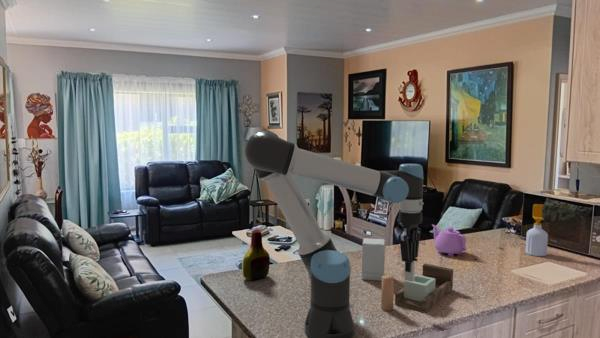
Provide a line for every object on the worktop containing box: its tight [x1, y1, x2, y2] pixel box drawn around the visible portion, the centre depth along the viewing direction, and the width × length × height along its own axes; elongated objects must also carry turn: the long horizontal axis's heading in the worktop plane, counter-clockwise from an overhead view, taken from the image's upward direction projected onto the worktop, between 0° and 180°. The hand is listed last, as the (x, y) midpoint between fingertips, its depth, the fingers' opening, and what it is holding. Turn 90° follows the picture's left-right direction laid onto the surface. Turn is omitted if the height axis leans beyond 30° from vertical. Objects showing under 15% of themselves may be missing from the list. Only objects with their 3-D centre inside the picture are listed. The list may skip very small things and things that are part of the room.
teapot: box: [431, 224, 467, 258], centre depth 218 cm, size 20×14×12 cm
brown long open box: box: [394, 263, 454, 313], centre depth 163 cm, size 26×11×8 cm, turn 142°
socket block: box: [403, 273, 436, 302], centre depth 159 cm, size 9×8×6 cm
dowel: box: [380, 274, 395, 312], centre depth 153 cm, size 4×4×11 cm
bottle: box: [241, 228, 271, 281], centre depth 181 cm, size 12×6×20 cm, turn 120°
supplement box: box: [361, 237, 386, 282], centre depth 184 cm, size 9×9×15 cm
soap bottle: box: [525, 203, 549, 257], centre depth 217 cm, size 9×9×25 cm
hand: (409, 280), depth 151 cm, fingers closed
